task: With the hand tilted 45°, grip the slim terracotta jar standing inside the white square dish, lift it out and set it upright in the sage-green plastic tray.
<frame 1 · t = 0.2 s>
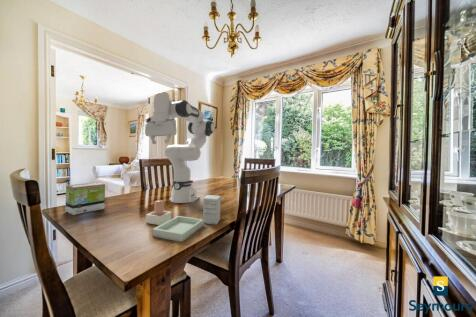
hand: (160, 143, 114), 39 cm above the table, tool pointing down, fingers open, 8 cm apart
white square dish: (158, 221, 99), on the table
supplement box: (211, 221, 101), on the table
tea box: (85, 210, 111), on the table
terracotta jar: (159, 211, 99), in the white square dish
tray: (179, 230, 88), on the table
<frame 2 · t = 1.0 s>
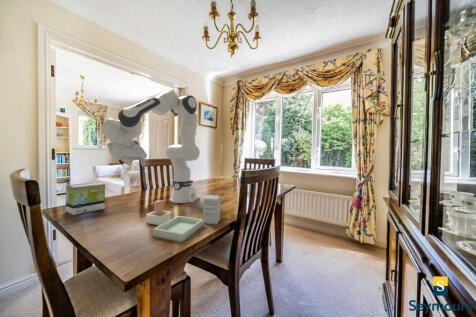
hand: (137, 164, 102), 27 cm above the table, tool tilted 45°, fingers open, 8 cm apart
nothing on the table moved.
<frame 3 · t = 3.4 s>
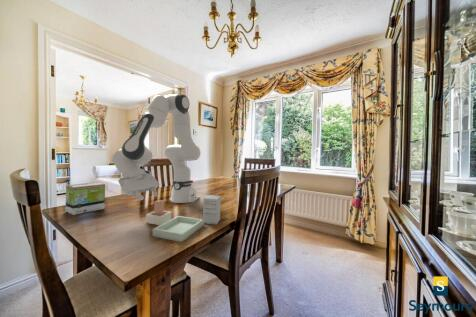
hand: (149, 197, 100), 11 cm above the table, tool tilted 45°, fingers open, 8 cm apart
nothing on the table moved.
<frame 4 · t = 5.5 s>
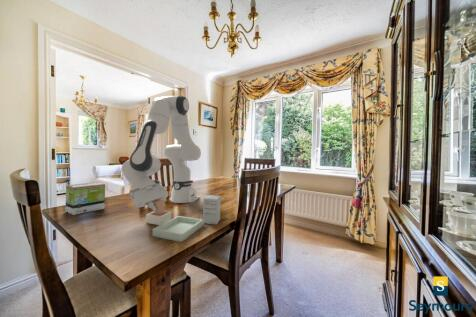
hand: (160, 208, 98), 6 cm above the table, tool tilted 45°, fingers closed on terracotta jar, 4 cm apart
terracotta jar: (159, 211, 99), in the white square dish, touching gripper
everything else where it was.
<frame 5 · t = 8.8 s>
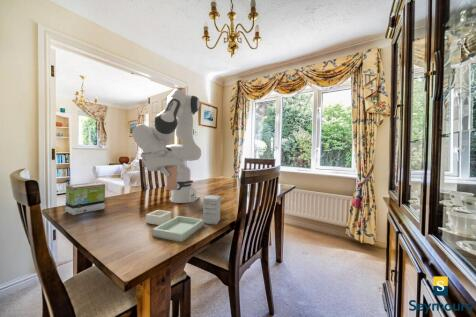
hand: (173, 175, 90), 24 cm above the table, tool tilted 45°, fingers closed on terracotta jar, 4 cm apart
terracotta jar: (171, 178, 91), point 23 cm above the table, touching gripper
everything else where it was.
when the fingers open (9 cm above the table, at t = 12.4 s): terracotta jar drops 1 cm, resting on tray.
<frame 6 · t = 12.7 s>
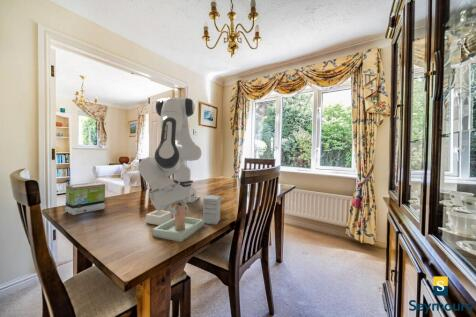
hand: (181, 211, 88), 9 cm above the table, tool tilted 45°, fingers open, 7 cm apart
terracotta jar: (180, 217, 88), in the tray, point 6 cm above the table
everything else where it was.
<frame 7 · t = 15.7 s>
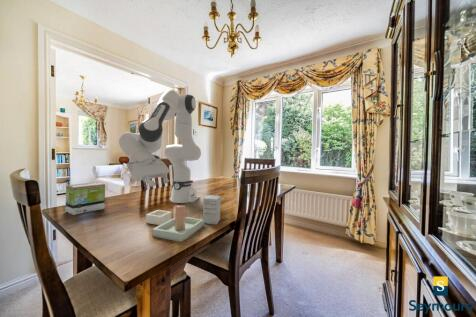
hand: (160, 183, 91), 20 cm above the table, tool tilted 45°, fingers open, 8 cm apart
nothing on the table moved.
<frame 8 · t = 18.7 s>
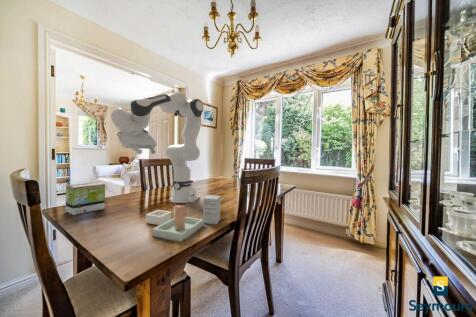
hand: (147, 153, 102), 33 cm above the table, tool tilted 45°, fingers open, 8 cm apart
nothing on the table moved.
at the end: terracotta jar inside the target area on the tray (0.0 cm from its centre), point 5.8 cm above the tray's base; terracotta jar tilted 1°; the gripper is holding nothing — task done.
